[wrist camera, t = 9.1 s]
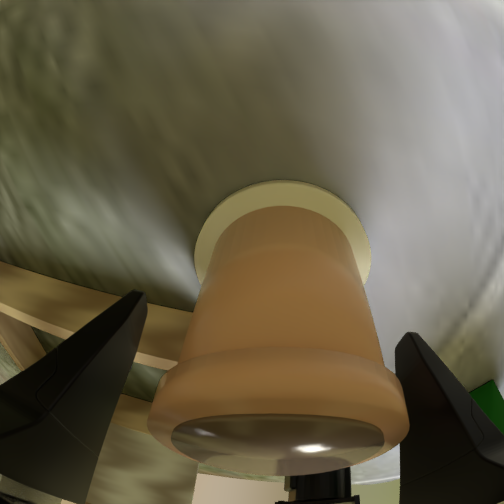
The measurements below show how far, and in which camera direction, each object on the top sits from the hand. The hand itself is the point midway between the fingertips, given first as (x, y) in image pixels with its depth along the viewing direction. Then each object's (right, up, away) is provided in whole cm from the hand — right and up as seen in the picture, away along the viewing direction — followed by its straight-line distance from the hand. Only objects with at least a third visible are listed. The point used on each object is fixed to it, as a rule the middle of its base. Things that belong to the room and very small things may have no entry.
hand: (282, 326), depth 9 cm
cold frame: (-12, -5, +9) cm, 16 cm away
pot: (0, +2, +2) cm, 3 cm away
